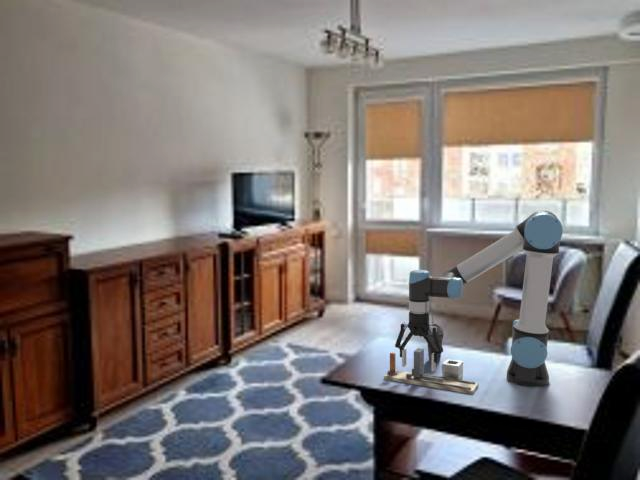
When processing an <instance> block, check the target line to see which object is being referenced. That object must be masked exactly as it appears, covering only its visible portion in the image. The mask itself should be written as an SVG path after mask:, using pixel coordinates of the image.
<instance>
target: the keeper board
mask: <svg viewBox="0 0 640 480" xmlns="http://www.w3.org/2000/svg"><path fill="white" fill-rule="evenodd" d="M396 356H397V355H396V353H395V352H390V353H389V370H388V371H387V372H386V374H385V375H384V376H383V379H384V380H388V381H393V382H394V381H395V382H399V383H404V384H411V385H416V386H421V387H422V386H423V387H430V388H434V389H435V388H436V389H441V390H446V391H447V390H448V391H451V392H452V391H453V392H457V393H464V394H469V395H470V394H471V395H474V393H475V392H476V391H477V389H478V388H479V382H478V383H477V382H475V381H469V380H465V379H460V380H459V379H453V378H446V377H442V376H440V375H439V376H438V375H433V374H427V373H424V375H425V376H431V377H437V378H443V381H437V380H431V379H425V378H421V379H416V378H414V367H412V369H411V372H409V371H403V370H397V369H396Z"/></svg>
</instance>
